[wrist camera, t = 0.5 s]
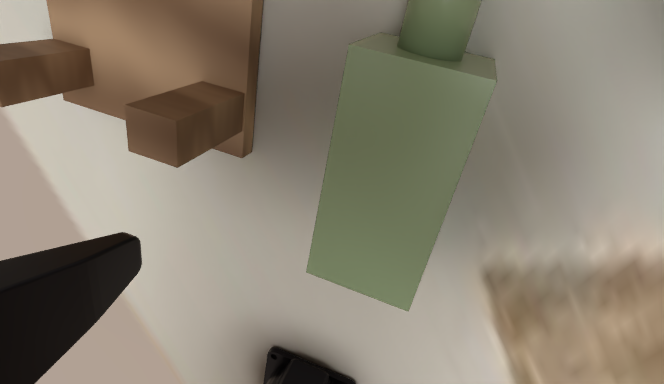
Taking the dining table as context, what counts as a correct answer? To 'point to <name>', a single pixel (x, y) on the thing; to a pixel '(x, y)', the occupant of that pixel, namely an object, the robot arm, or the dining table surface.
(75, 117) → the dining table surface
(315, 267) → the bottle
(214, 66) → the cradle
